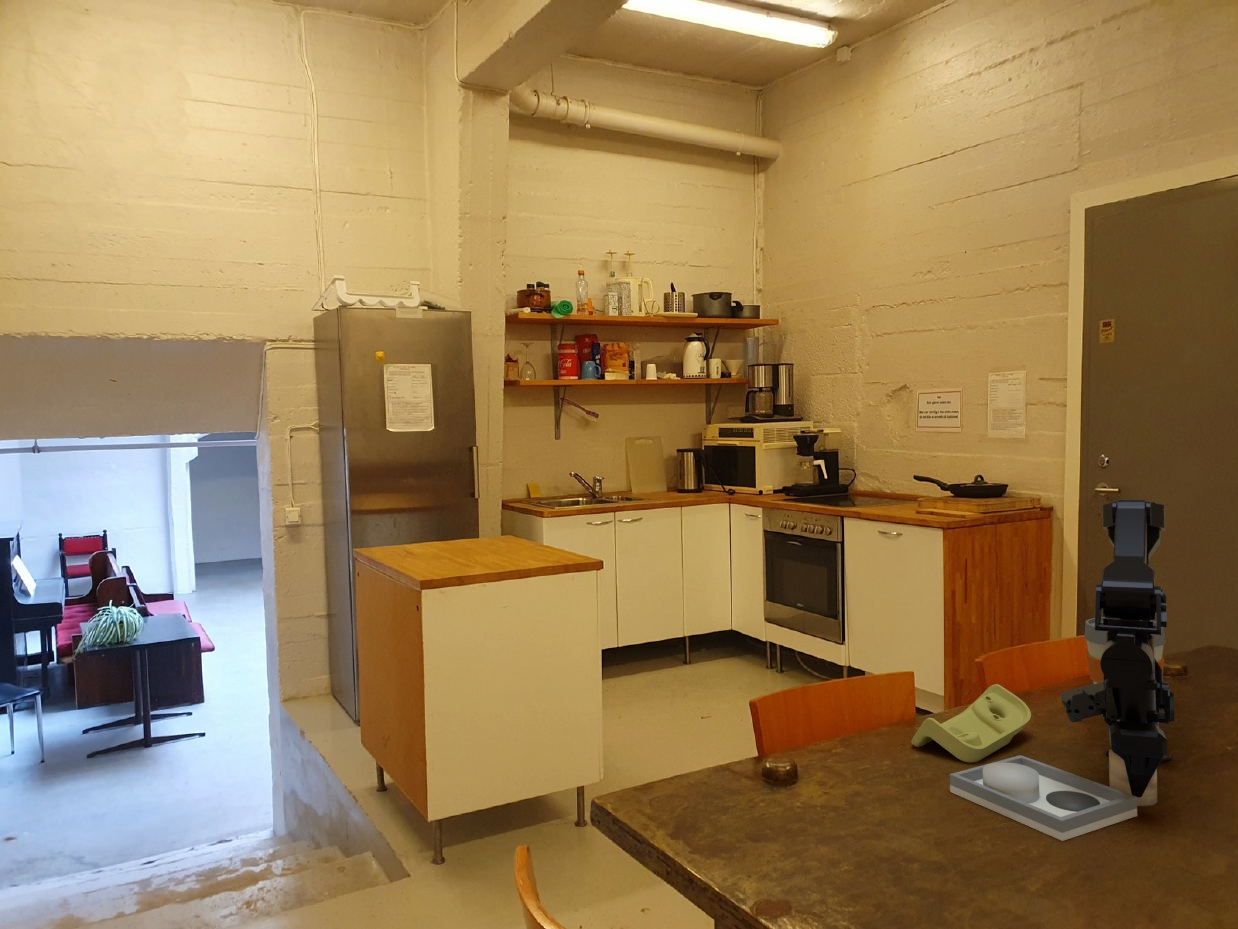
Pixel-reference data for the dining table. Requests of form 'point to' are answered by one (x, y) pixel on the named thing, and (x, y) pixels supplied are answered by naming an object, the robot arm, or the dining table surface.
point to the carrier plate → (1044, 796)
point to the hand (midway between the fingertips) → (1133, 784)
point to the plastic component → (978, 726)
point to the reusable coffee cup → (1097, 645)
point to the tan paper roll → (1122, 784)
